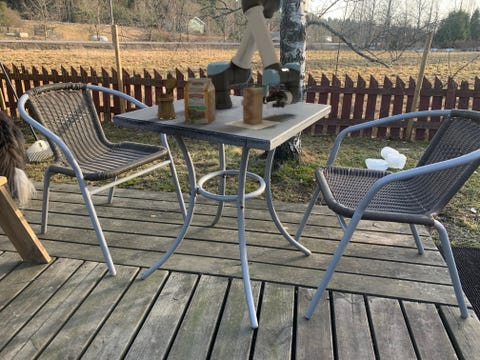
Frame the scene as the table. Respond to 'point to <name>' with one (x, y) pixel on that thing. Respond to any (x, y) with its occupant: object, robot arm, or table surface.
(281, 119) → the mat
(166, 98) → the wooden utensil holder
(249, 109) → the walnut block
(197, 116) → the milk carton
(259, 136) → the table surface
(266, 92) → the flower pot
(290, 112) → the table surface
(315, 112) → the table surface
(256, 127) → the beige square pad
